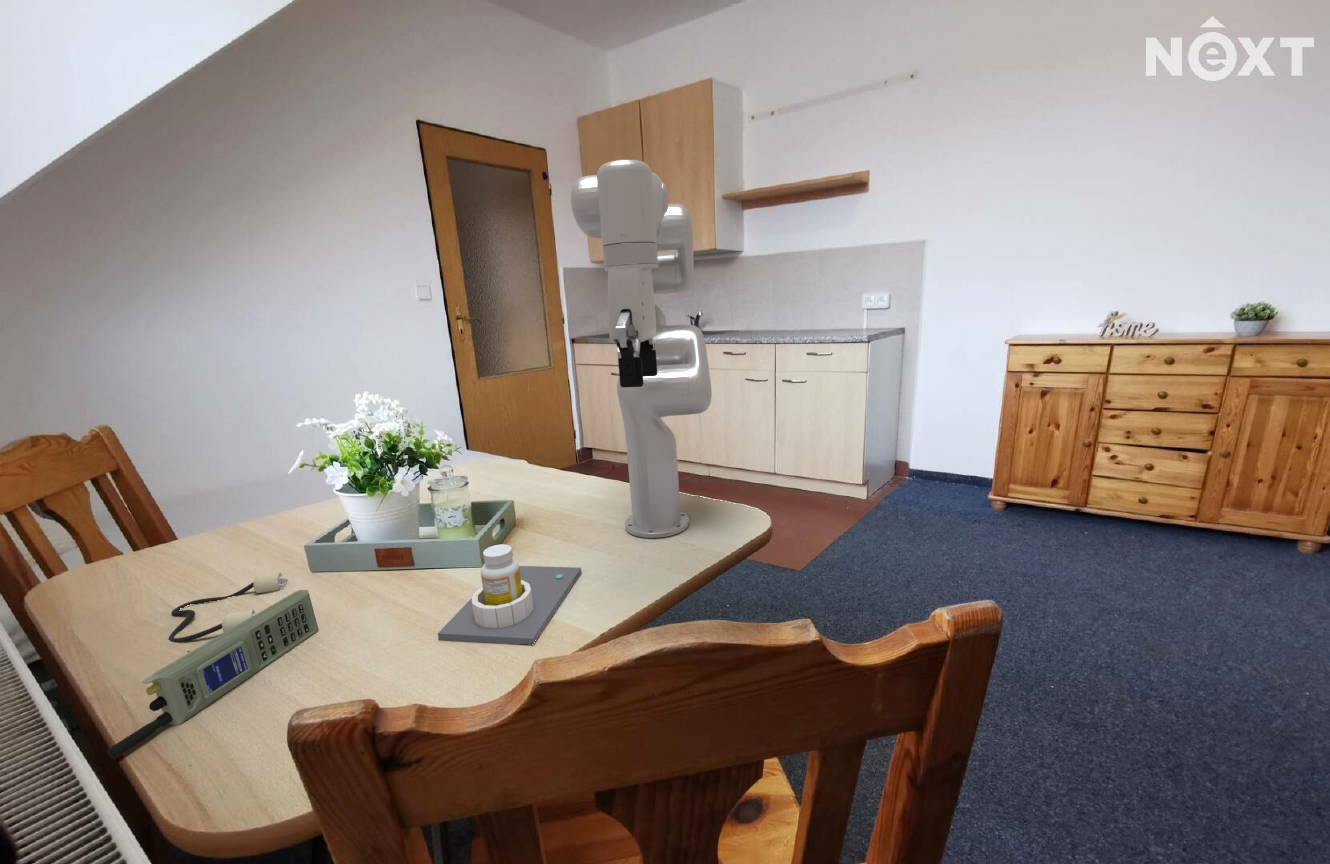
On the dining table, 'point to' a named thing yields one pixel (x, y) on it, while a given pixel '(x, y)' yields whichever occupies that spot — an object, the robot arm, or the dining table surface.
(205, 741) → the dining table surface
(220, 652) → the handheld radio
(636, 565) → the dining table surface
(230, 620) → the cable
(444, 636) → the charging dock
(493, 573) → the supplement bottle
